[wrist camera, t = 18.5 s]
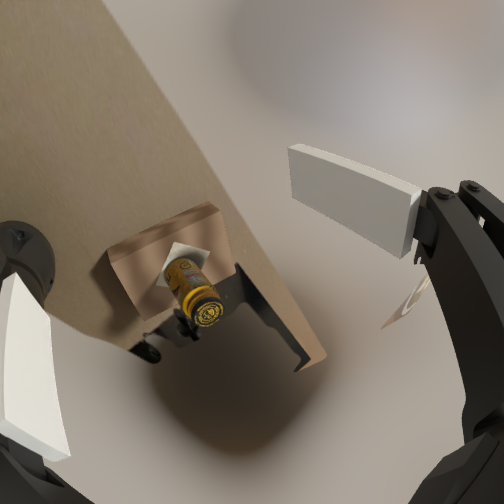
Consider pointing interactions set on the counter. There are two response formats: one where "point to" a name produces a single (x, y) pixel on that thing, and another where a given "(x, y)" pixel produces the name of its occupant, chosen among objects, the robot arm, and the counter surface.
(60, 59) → the counter surface
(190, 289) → the condiment
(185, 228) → the stand
